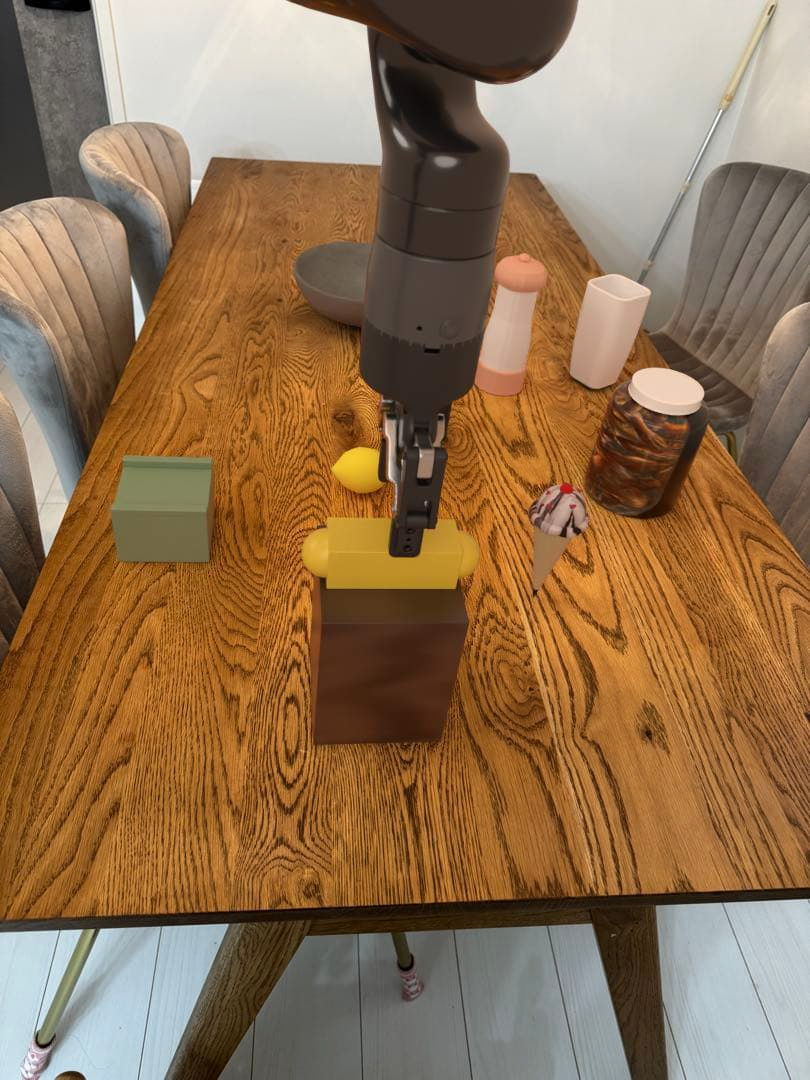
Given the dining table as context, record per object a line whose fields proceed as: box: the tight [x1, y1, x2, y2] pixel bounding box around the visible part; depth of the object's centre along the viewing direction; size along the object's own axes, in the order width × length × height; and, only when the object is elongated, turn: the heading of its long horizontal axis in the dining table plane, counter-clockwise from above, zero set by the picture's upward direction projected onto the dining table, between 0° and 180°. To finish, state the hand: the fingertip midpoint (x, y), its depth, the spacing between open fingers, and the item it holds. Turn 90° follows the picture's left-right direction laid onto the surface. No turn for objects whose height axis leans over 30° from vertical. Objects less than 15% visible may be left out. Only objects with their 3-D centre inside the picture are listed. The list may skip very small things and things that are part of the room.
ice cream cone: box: [528, 482, 590, 599], centre depth 80 cm, size 6×6×15 cm
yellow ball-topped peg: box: [300, 516, 481, 589], centre depth 62 cm, size 14×4×4 cm, turn 96°
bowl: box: [292, 240, 373, 328], centre depth 127 cm, size 21×21×8 cm
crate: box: [309, 524, 470, 746], centre depth 69 cm, size 11×11×15 cm
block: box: [109, 454, 216, 563], centre depth 84 cm, size 9×9×7 cm
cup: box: [569, 273, 652, 390], centre depth 118 cm, size 7×7×15 cm
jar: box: [583, 367, 711, 519], centre depth 97 cm, size 12×12×15 cm
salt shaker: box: [474, 252, 548, 397], centre depth 112 cm, size 7×7×19 cm
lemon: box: [331, 446, 386, 495], centre depth 94 cm, size 7×5×5 cm
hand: (397, 515), depth 60 cm, fingers open, 8 cm apart
